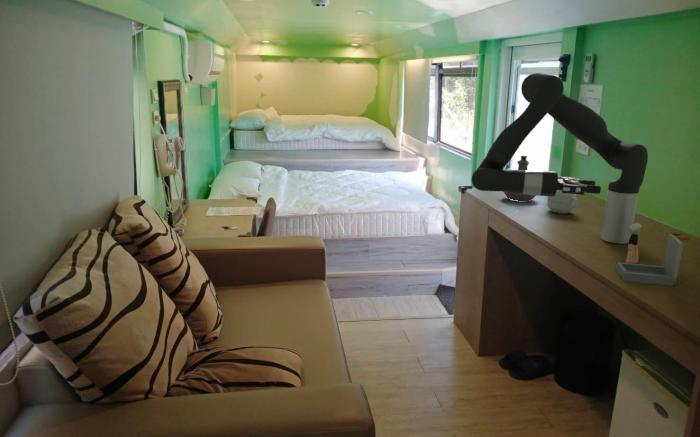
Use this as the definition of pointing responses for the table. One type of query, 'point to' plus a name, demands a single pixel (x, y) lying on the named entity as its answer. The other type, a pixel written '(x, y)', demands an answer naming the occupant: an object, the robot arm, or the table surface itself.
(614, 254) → the table surface
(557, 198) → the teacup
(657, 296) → the table surface
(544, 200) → the table surface
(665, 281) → the case
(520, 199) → the flask
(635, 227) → the grandmother figurine
